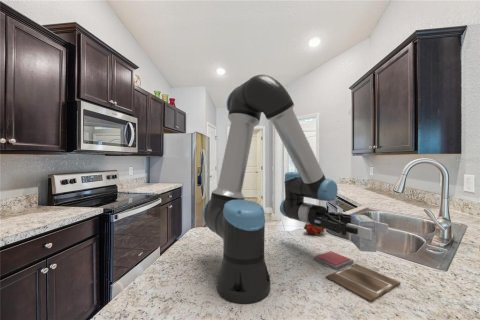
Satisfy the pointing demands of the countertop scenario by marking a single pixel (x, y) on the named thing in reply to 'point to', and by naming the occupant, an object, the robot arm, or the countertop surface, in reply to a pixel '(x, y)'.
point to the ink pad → (333, 260)
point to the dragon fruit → (313, 229)
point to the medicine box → (362, 242)
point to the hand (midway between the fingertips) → (379, 231)
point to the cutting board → (363, 282)
